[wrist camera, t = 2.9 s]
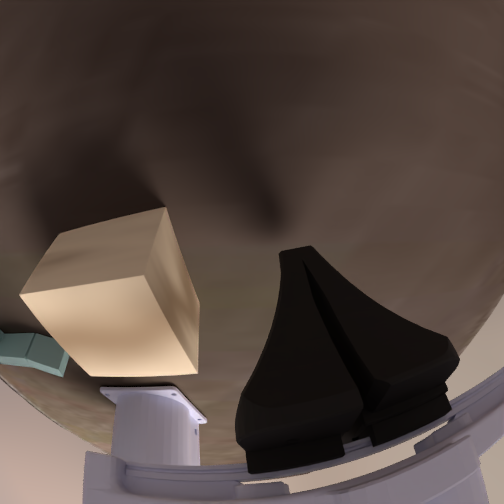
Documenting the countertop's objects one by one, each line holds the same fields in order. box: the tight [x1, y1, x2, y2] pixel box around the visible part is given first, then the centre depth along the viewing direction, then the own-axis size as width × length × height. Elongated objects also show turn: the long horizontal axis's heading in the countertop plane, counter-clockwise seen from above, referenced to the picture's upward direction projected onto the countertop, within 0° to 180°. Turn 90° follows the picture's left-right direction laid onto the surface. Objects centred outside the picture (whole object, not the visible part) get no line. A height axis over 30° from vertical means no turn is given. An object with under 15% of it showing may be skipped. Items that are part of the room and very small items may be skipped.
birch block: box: [19, 207, 200, 377], centre depth 11 cm, size 6×6×4 cm
